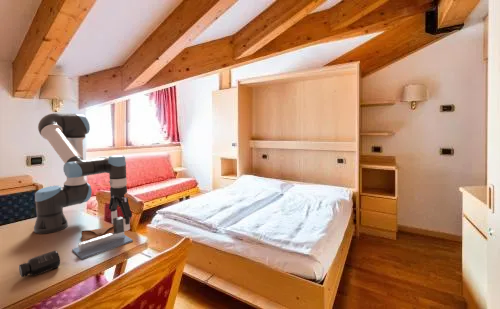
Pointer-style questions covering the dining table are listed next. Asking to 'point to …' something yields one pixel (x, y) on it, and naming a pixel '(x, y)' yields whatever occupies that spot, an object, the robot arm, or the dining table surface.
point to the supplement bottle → (40, 264)
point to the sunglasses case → (95, 233)
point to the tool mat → (102, 248)
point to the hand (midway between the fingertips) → (120, 226)
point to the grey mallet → (104, 237)
